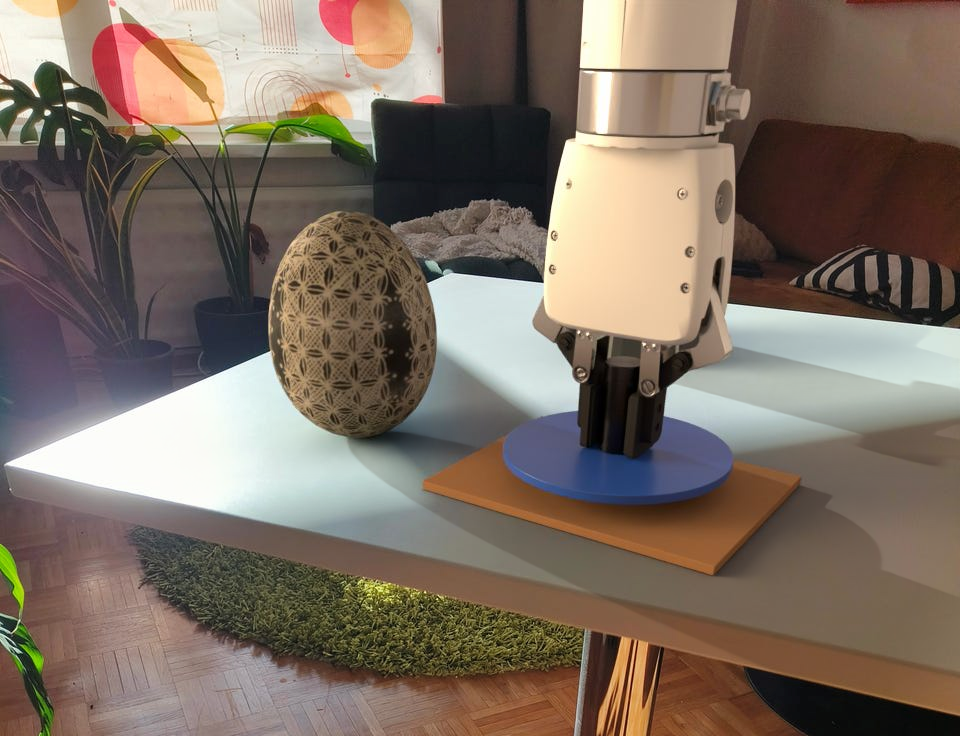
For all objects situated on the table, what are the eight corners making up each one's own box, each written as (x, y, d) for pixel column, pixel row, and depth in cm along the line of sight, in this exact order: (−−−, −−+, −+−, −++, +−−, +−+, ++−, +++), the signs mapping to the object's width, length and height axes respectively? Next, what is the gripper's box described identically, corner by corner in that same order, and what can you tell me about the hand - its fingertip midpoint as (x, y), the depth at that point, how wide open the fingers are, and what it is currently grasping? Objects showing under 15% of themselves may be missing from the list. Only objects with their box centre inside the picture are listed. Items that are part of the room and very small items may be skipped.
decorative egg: (254, 426, 67) (224, 208, 59) (387, 397, 73) (376, 194, 65) (327, 476, 60) (303, 233, 51) (470, 439, 65) (469, 215, 57)
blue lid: (763, 455, 59) (783, 353, 55) (672, 537, 49) (689, 420, 45) (572, 412, 66) (578, 318, 62) (457, 476, 56) (456, 370, 52)
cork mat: (800, 484, 59) (802, 475, 59) (713, 576, 49) (715, 566, 48) (541, 423, 68) (541, 415, 68) (422, 489, 58) (422, 480, 58)
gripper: (824, 114, 46) (759, 455, 56) (552, 104, 53) (539, 406, 63) (775, 122, 40) (713, 496, 51) (481, 109, 48) (479, 437, 58)
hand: (617, 443), depth 57 cm, fingers closed on blue lid, 2 cm apart
